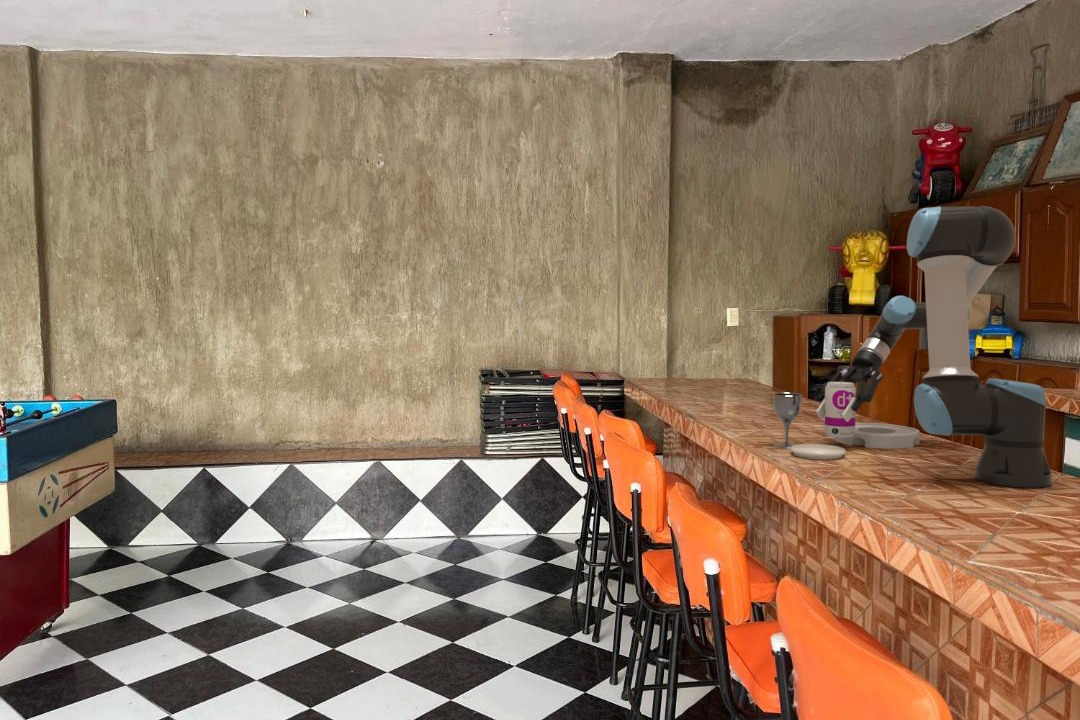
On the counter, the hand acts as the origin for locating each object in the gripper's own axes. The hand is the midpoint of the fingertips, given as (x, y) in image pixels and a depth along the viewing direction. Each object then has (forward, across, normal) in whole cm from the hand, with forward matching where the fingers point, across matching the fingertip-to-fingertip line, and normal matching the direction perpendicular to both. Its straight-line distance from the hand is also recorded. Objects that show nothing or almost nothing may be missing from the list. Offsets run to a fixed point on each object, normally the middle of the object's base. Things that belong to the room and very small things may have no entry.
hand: (831, 416), depth 222 cm
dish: (+14, -4, +1) cm, 14 cm away
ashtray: (-8, +1, -22) cm, 23 cm away
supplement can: (+2, 0, -6) cm, 7 cm away
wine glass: (+11, +10, -2) cm, 15 cm away
